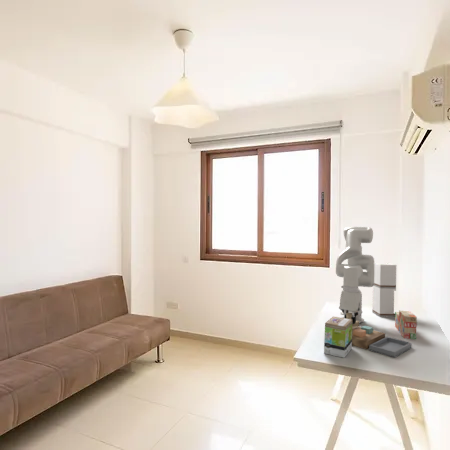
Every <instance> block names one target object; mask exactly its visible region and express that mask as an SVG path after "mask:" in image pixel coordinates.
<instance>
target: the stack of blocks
mask: <svg viewBox="0 0 450 450" xmlns="http://www.w3.org/2000/svg"><path fill="white" fill-rule="evenodd" d="M394 314H395V317H394V320H395V321H394V325H395V326H394V327H395V328H396V330H397V331H398V332H399V333H400V335H401V336H402V338H404V339H410V340H417V323H418V320H417V318H418V317H417V316H416V315H415V314H414V313H413V312H412V311H410V310H398V311H394Z"/></svg>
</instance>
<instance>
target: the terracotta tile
mask: <svg viewBox="0 0 450 450" xmlns="http://www.w3.org/2000/svg"><path fill="white" fill-rule="evenodd" d="M353 335H355V336H359V337H364V336H366V330H362V329H355V330H353Z"/></svg>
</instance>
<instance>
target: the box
mask: <svg viewBox="0 0 450 450" xmlns="http://www.w3.org/2000/svg"><path fill="white" fill-rule="evenodd" d="M412 344H413V343H412V342H409V341H407V340H402V339H399V338H398V339H397V338H394V337H391V336H385V338H383V339H381V340H379V341H377V342H375V343H373V344H370V345H369V349H368V351H372V352H375V353H378V354H379V355H380V354H381V355H383V356H388V357H391V358H394V359H395V358H397V357H398V356H400V355H402V354H404V353H405V352H407V351H408V350H410V349H412Z"/></svg>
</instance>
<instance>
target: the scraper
mask: <svg viewBox="0 0 450 450" xmlns="http://www.w3.org/2000/svg"><path fill="white" fill-rule="evenodd" d="M351 317H352V313H351V312H348V313H346V319H351ZM357 326H358V327H360V323H359V321H356V323H355V324H352V328H354V327H357Z"/></svg>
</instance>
